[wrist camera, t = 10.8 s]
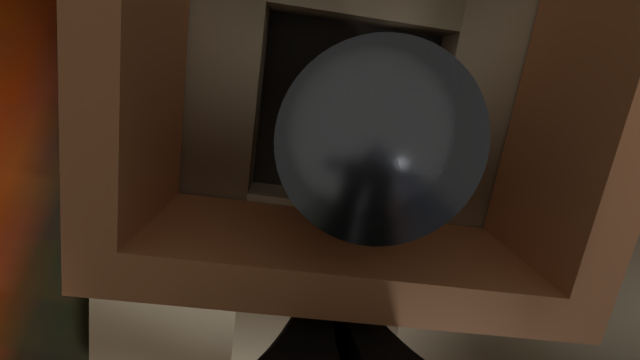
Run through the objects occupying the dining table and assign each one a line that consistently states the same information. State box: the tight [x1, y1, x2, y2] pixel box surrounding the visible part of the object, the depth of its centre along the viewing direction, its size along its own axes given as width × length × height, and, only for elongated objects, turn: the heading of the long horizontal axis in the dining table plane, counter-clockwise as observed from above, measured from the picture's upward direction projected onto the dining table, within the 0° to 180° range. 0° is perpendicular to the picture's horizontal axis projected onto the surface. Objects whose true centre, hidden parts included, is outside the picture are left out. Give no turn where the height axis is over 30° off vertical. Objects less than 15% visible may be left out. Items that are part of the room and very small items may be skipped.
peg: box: [274, 32, 491, 247], centre depth 10 cm, size 4×4×6 cm
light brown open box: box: [57, 0, 640, 345], centre depth 9 cm, size 8×11×4 cm
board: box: [89, 0, 640, 360], centre depth 13 cm, size 16×22×2 cm
